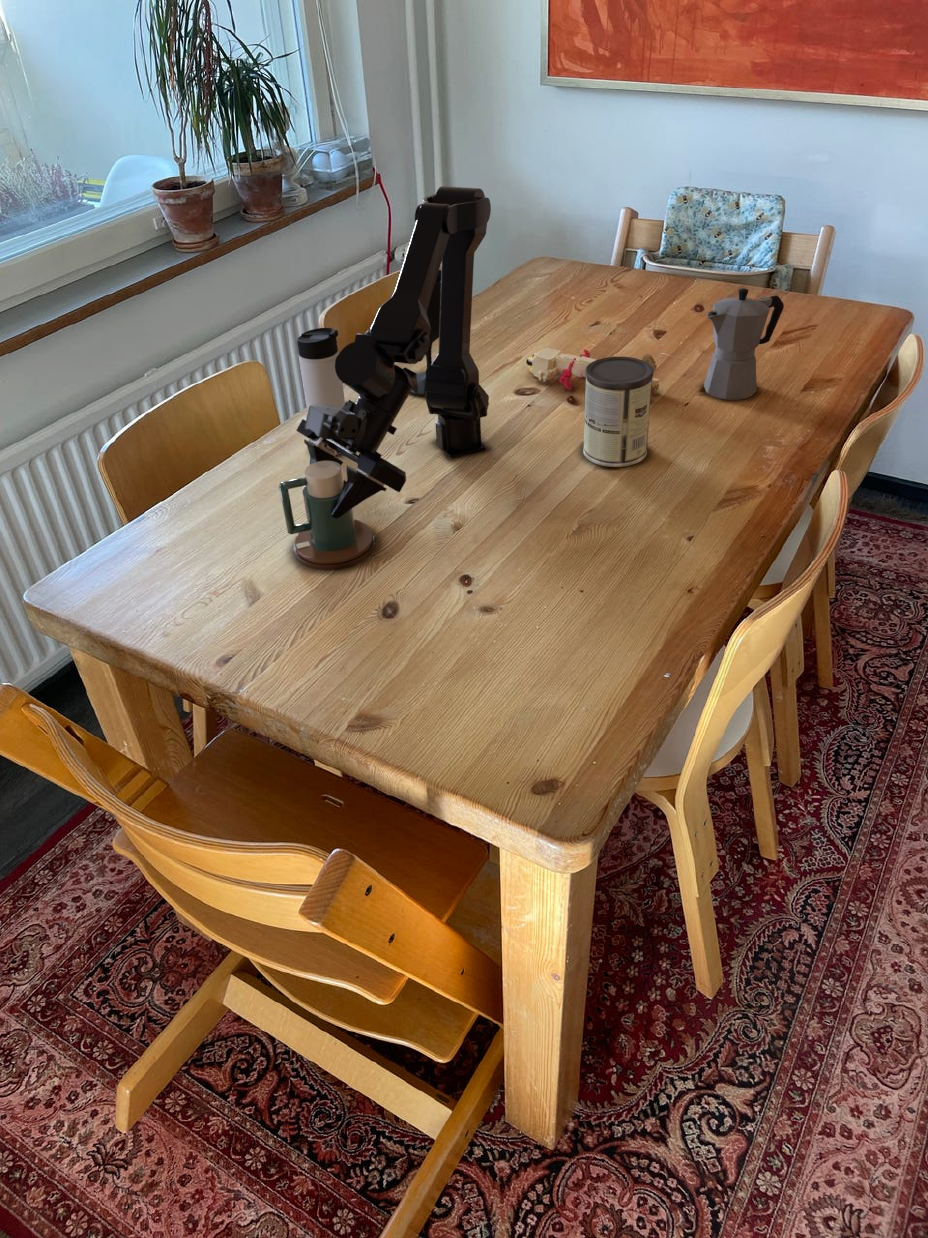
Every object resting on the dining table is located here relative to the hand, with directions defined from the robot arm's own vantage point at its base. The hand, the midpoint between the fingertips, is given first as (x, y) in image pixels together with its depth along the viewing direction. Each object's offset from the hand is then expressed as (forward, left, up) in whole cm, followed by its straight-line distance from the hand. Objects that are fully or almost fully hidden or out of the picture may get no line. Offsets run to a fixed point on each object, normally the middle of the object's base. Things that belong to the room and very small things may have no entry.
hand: (319, 507), depth 128 cm
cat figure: (-59, -29, -7) cm, 67 cm away
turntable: (-1, 0, -7) cm, 7 cm away
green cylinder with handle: (-1, 0, -7) cm, 7 cm away
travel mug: (-10, -29, -7) cm, 32 cm away
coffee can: (-50, -5, -7) cm, 51 cm away
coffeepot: (-81, -15, -7) cm, 83 cm away
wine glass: (-34, -44, -7) cm, 57 cm away
